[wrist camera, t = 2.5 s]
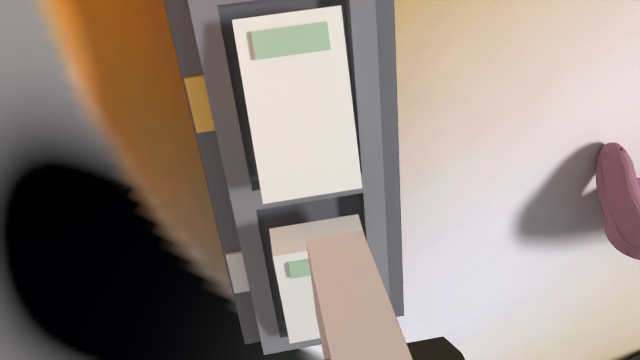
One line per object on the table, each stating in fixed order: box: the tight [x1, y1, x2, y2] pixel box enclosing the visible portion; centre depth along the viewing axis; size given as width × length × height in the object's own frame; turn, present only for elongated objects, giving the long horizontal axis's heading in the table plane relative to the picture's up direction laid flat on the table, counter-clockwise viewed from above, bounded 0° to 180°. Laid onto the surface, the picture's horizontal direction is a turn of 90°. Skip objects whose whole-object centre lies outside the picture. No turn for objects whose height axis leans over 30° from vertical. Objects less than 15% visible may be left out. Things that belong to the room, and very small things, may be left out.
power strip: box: [164, 0, 404, 355], centre depth 24 cm, size 28×9×5 cm, turn 6°
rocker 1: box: [232, 5, 362, 204], centre depth 20 cm, size 7×4×2 cm, turn 6°
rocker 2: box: [269, 214, 365, 344], centre depth 25 cm, size 7×4×2 cm, turn 6°
